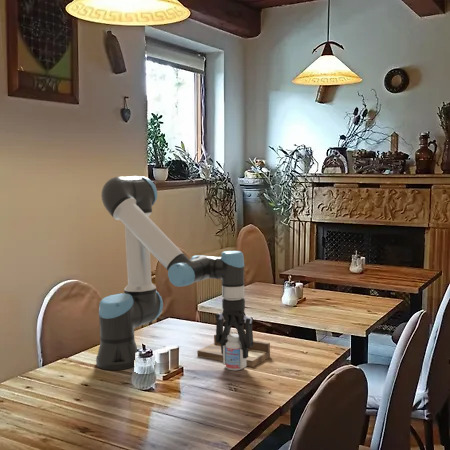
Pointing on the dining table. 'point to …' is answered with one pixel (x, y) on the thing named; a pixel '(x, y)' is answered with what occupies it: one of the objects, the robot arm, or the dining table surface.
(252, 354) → the wooden stand
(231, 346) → the pill bottle
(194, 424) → the dining table surface
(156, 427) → the dining table surface
